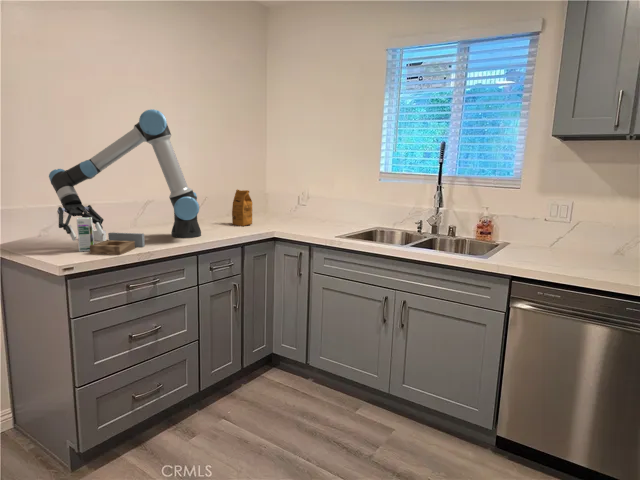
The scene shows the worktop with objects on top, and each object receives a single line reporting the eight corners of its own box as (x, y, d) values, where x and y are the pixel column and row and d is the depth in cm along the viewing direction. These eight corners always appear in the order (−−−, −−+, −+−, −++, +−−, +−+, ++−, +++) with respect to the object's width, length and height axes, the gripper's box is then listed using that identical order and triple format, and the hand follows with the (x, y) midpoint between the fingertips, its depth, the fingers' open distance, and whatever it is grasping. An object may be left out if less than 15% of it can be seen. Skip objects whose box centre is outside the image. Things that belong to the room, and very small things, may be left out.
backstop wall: (144, 246, 205) (144, 233, 204) (142, 247, 203) (141, 234, 202) (111, 245, 206) (110, 232, 205) (109, 245, 204) (108, 233, 203)
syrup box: (78, 252, 190) (76, 218, 187) (80, 249, 195) (77, 216, 192) (93, 251, 192) (91, 218, 189) (94, 248, 197) (92, 216, 195)
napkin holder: (112, 241, 217) (111, 230, 216) (86, 244, 210) (85, 232, 209) (103, 237, 228) (102, 226, 227) (79, 239, 221) (78, 228, 220)
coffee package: (242, 223, 284) (241, 188, 280) (254, 225, 276) (254, 190, 272) (229, 224, 277) (228, 189, 273) (242, 226, 269) (241, 190, 265)
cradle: (134, 248, 199) (134, 241, 198) (119, 254, 186) (119, 246, 185) (107, 247, 199) (106, 240, 199) (90, 253, 187) (89, 245, 186)
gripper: (93, 202, 208) (112, 238, 202) (38, 206, 190) (57, 246, 184) (98, 192, 204) (118, 228, 198) (42, 194, 186) (62, 235, 179)
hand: (88, 237), depth 191 cm, fingers open, 11 cm apart
